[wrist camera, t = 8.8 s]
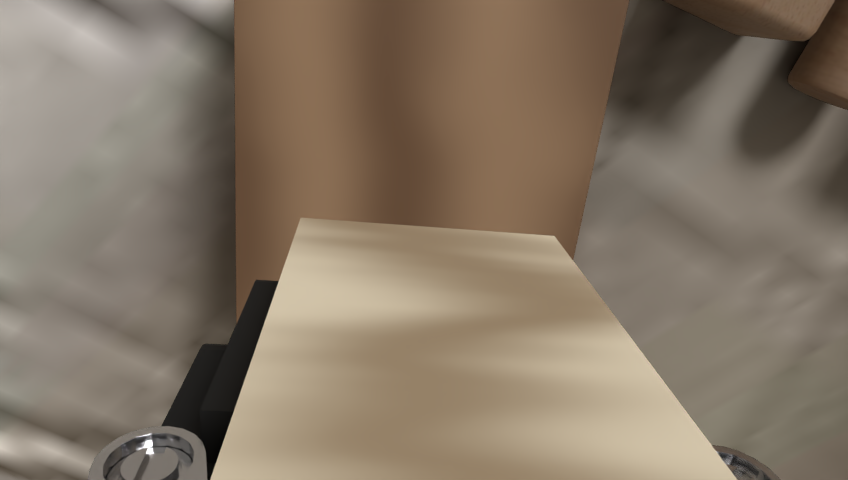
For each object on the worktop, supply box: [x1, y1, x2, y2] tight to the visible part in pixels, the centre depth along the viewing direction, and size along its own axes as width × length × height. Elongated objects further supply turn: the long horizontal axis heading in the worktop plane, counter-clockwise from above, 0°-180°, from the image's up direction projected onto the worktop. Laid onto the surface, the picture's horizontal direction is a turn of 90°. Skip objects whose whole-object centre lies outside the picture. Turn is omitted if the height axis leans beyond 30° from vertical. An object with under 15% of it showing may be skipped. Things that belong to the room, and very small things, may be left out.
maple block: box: [210, 218, 737, 480], centre depth 9 cm, size 5×5×7 cm
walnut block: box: [234, 0, 629, 324], centre depth 23 cm, size 12×16×5 cm
